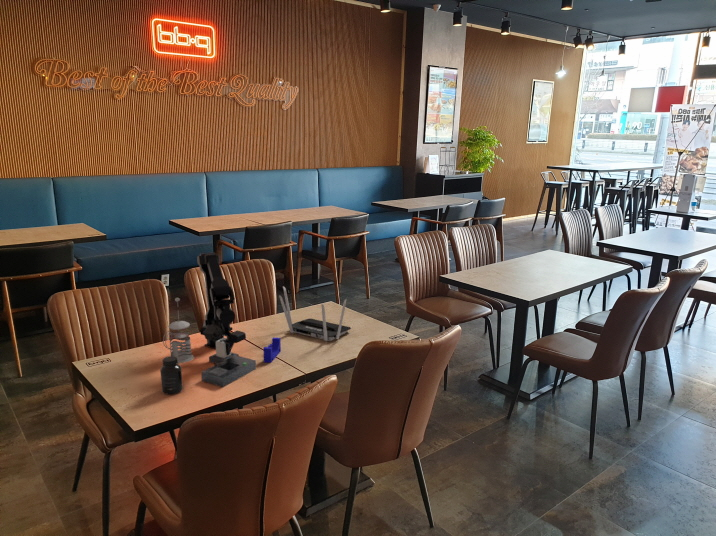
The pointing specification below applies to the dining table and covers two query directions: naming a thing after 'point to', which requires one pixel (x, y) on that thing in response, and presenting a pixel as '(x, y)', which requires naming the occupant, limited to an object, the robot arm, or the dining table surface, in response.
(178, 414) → the dining table surface
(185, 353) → the french press
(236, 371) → the port panel
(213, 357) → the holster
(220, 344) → the plug
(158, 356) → the dining table surface
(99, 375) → the dining table surface
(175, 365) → the supplement bottle
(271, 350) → the cable clip
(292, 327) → the wireless router
